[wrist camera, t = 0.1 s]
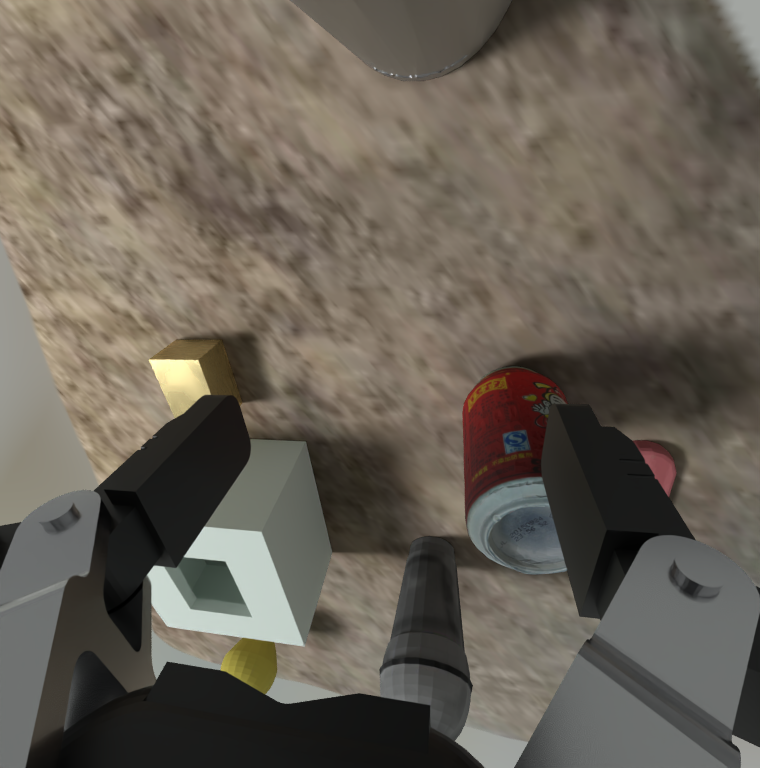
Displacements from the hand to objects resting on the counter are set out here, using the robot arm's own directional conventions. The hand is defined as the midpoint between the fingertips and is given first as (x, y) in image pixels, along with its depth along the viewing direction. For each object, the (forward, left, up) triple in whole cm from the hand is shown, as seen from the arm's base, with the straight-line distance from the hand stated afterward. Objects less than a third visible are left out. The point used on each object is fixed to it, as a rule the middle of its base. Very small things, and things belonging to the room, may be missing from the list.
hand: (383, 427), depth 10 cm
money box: (+24, -18, -17) cm, 34 cm away
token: (+9, -18, -17) cm, 26 cm away
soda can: (+11, +6, -17) cm, 21 cm away
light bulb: (+47, -22, -17) cm, 54 cm away
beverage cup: (+30, 0, -17) cm, 34 cm away
